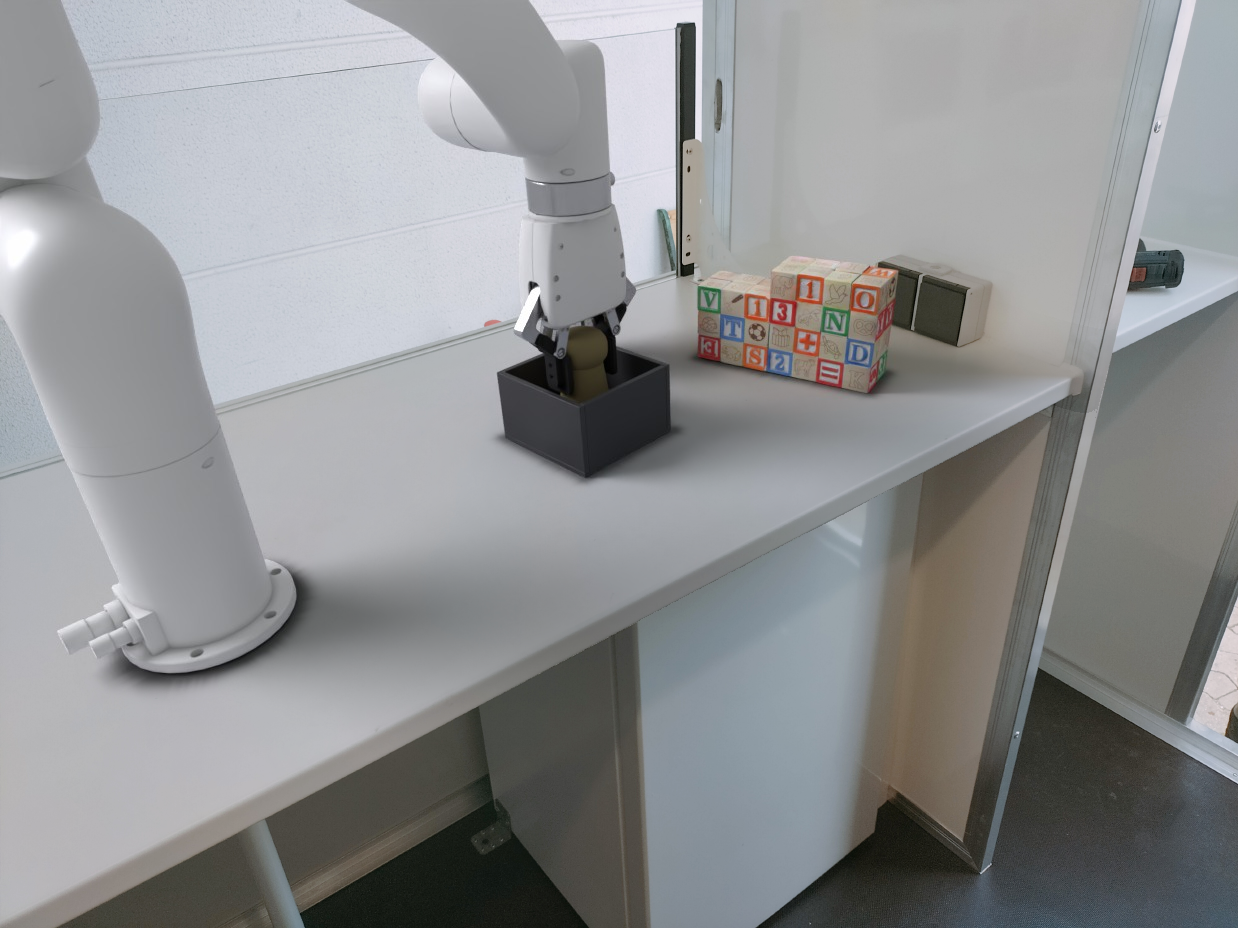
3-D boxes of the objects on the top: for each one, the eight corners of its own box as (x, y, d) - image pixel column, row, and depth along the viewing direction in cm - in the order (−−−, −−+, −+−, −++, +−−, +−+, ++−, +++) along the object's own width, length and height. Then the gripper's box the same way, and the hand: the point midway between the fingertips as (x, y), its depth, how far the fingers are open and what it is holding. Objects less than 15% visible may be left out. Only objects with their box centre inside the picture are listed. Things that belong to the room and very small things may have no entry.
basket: (585, 478, 81) (579, 407, 77) (505, 438, 88) (496, 372, 85) (671, 430, 88) (669, 364, 84) (590, 397, 96) (585, 335, 92)
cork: (628, 428, 88) (624, 328, 82) (587, 450, 84) (579, 347, 79) (587, 411, 92) (580, 314, 86) (546, 432, 88) (536, 332, 82)
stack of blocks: (696, 358, 103) (695, 259, 97) (719, 340, 108) (720, 244, 102) (869, 394, 93) (881, 285, 87) (887, 372, 98) (900, 267, 91)
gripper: (608, 172, 83) (617, 345, 93) (466, 210, 73) (492, 399, 82) (665, 182, 79) (668, 362, 88) (521, 223, 68) (543, 422, 78)
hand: (583, 378), depth 85 cm, fingers closed on cork, 5 cm apart
